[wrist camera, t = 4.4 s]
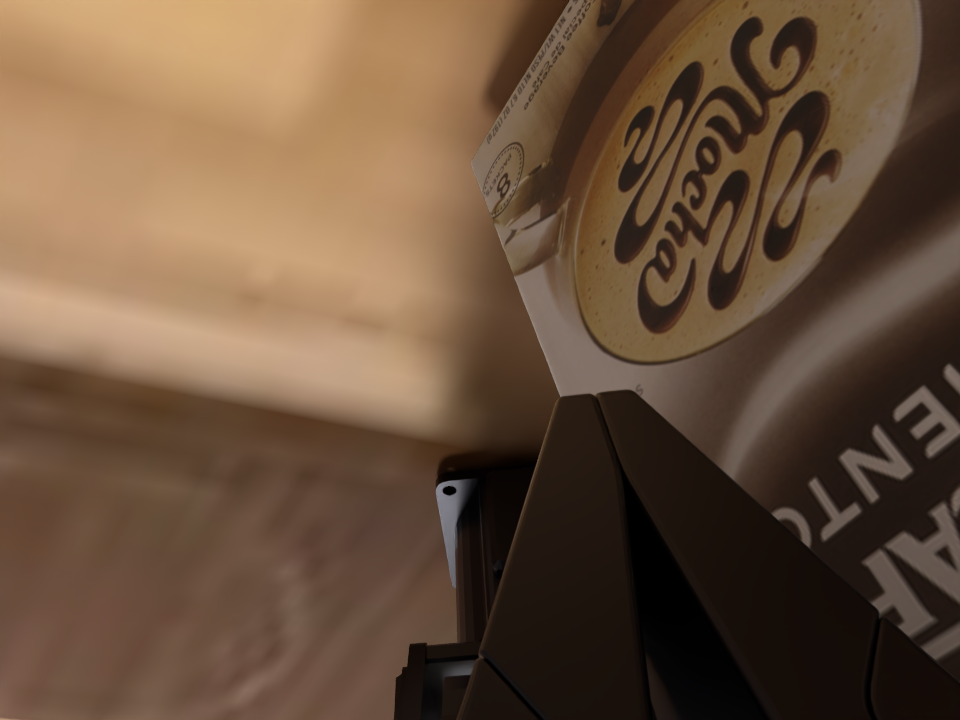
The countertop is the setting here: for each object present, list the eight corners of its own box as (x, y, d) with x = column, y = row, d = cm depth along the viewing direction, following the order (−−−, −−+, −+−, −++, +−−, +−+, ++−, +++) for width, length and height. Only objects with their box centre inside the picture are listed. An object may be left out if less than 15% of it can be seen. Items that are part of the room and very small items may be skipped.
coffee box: (691, -226, 14) (2576, 144, 3) (883, -47, 17) (2144, 499, 6) (456, 164, 19) (741, 949, 7) (641, 253, 22) (1055, 903, 10)
